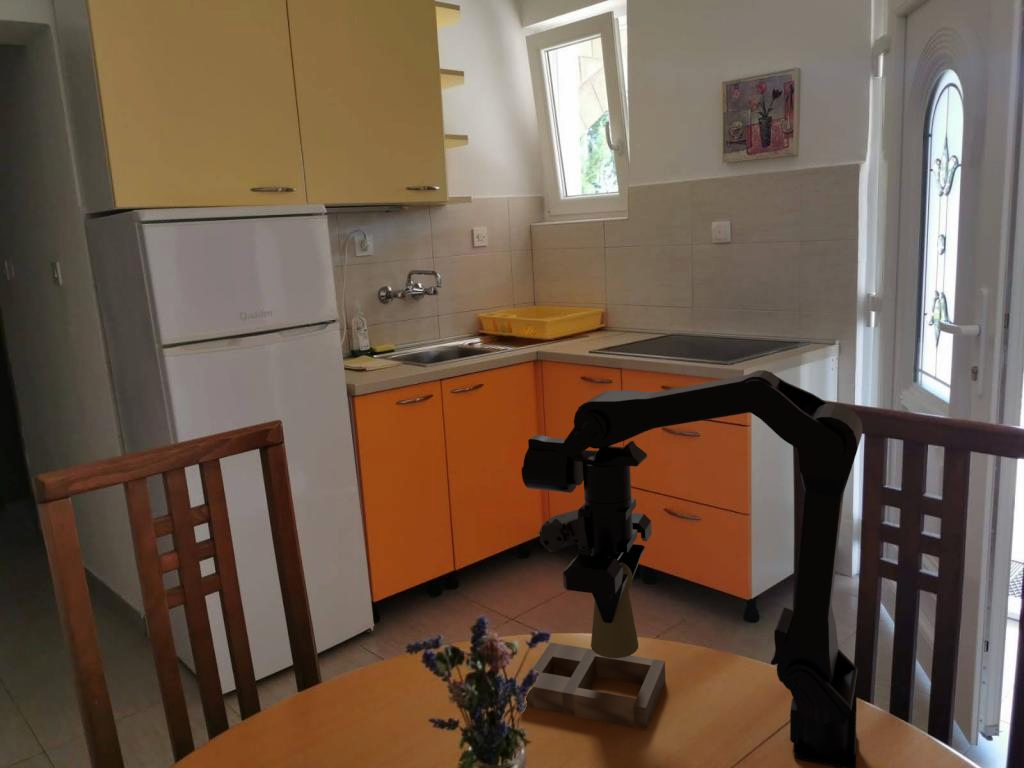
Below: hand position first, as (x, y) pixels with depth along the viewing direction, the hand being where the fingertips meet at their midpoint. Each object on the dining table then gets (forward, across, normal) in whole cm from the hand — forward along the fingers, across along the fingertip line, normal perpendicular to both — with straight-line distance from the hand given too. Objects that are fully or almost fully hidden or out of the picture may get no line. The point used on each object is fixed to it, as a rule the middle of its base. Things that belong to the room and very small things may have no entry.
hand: (613, 613), depth 99 cm
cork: (+5, 0, 0) cm, 5 cm away
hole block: (+12, 0, -3) cm, 12 cm away
